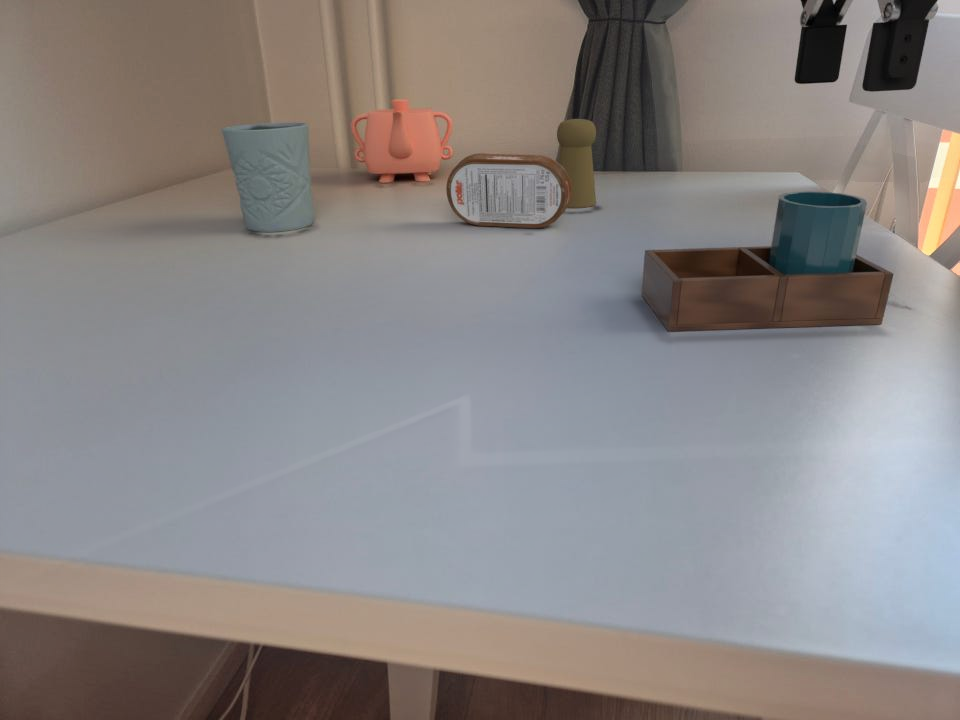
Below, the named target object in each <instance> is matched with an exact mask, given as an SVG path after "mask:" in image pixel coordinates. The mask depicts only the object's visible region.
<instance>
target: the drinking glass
mask: <svg viewBox="0 0 960 720" xmlns="http://www.w3.org/2000/svg"><path fill="white" fill-rule="evenodd" d="M221 133H222V136H223V140H224V143H225V147H226V151H227V154H228V159H229V162H230V167H231V170H232V172H233V174H234V180H235V185H236V189H237V193H238V196H239V206H240V210H241V213H242V218H243V221H244V226H245V229H247V230H249V231H253V232H259V233H278V232H290V231H294V230H300V229H303V228H306V227H309V226H311V225H313V224H314V221H315V210H314V198H313V194H312V178H311V170H310V169H311V168H310V165H311V164H310V162H311V157H310V137H309V124H308V123H306V122H268V123H251V124H249V123H248V124H238V125H232V126H226V127H223V128H222V129H221Z"/></svg>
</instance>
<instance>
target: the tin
mask: <svg viewBox="0 0 960 720" xmlns="http://www.w3.org/2000/svg"><path fill="white" fill-rule="evenodd" d="M558 162H559V161H557V160H555V159H554V158H552V157H550V156H547V155H542V154H517V153H516V154H515V153H486V152H485V153H484V152H482V153H480V152H479V153H473V154H469V155H467V156H466V157H464V158H463V159H461V160H460V161H459V162H458V163H457V164H456V165H455V166H454V168H453V169H452V170H451V172H450V174H449V175H448V178H447V182H446V188H445V189H446V198H447V201H448V205H449V207H450V208H451V210H452V212H453V213H454V214H455V215H456V216H457V217H458V218H459V219H460V220H462V221H463V222H465V223H467V224H470V225H472V226H478V227H479V226H481V227H499V228H500V227H501V228H518V229H519V228H521V229H522V228H523V229H543V228H545V227H548V226H550V225H552V224H554V223H556V221H557V220H559V219H560V217H561V216H562V215H563V214H564V213H565V211H566V210H567V209H568V208H567V207H568V204H569V202H570V199H571V182H570V179H569V176H568V174H567V172H566V171H565V169H564V168H563V167H562V166H561V165H560V164H559V163H558Z"/></svg>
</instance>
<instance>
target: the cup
mask: <svg viewBox="0 0 960 720" xmlns="http://www.w3.org/2000/svg"><path fill="white" fill-rule="evenodd" d="M867 205H868V202H867V200H866V199H865V198H862V197H860V196H857V195H852V194H846V193H840V192H831V191H816V190H815V191H814V190H813V191H810V190H809V191H792V192H791V191H790V192H785V193H782V194H780V195H778V197H777V205H776V211H775V217H774V223H773V230H772V237H771V244H770V246H771V249H770V255H769V261H768V264H769V265H771V266H772V267H774V268H775V269H776V270H778V271H779V272H781V273H782V274H784V275H794V274H825V273H852V272H853V267H854V262H855V258H856V255H857V252H858V248H859V243H860V239H861V234H862V229H863V224H864V220H865V219H864V218H865V214H866V211H867V210H866V209H867Z"/></svg>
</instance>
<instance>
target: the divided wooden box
mask: <svg viewBox="0 0 960 720" xmlns="http://www.w3.org/2000/svg"><path fill="white" fill-rule="evenodd" d="M770 249H771V245H766V246H764V245H763V246H761V245H759V246H729V247H700V248H696V247H695V248H671V249H670V248H669V249H668V248H667V249H645V250H644V257H643V271H642V284H641V294H640V295H641V296H642V298H643V300H644V301H645V302H646V303H647V305H648V306H649V307H650V309H651V310H652V311H653V312H654V314H655V316H656V317H657V318H658V319H659V321H660V323H662V325H663V326H664V327H665V329H666V330H667V332H687V331H692V332H693V331H717V330H718V331H719V330H722V331H723V330H749V329H779V328H780V329H781V328H810V327H811V328H812V327H836V326H837V327H838V326H840V327H841V326H867V325H868V326H871V325H873V326H874V325H882V324H883V320H884V317H885V312H886V307H887V304H888V300H889V295H890V291H891V287H892V283H893V278H894V273H893V272H891V271H890V270H887V269H885V268H884V267H882V266H880V265H877V264H876V263H874V262H872V261H870V260H868V259H866V258H864V257H862V256H860V255H858V254H856V258H855V262H854V267H853V272H852V273H825V274H794V275H784V274H782V273H781V272H779V271H778V270H776V269H775V268H774V267H772V266H771V265H769V264H768V261H769V255H770Z"/></svg>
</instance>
